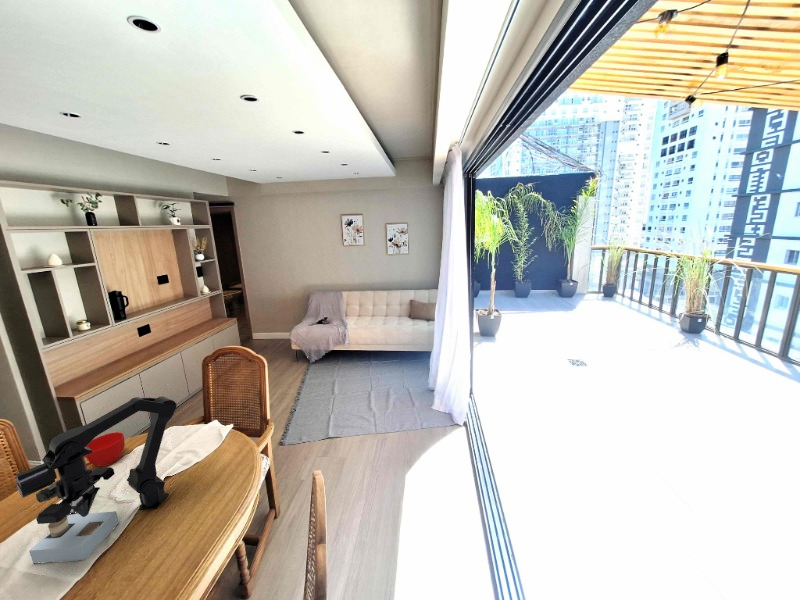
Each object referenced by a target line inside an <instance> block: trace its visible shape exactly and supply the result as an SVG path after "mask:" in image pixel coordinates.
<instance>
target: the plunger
mask: <svg viewBox="0 0 800 600" xmlns="http://www.w3.org/2000/svg"><path fill="white" fill-rule="evenodd" d="M67 517H68V515H67V516H66V517H65V518H64V519H62V520H61V521H59V522H57V523H48V525H47V527H48V530H49V533H50V534H51V537H52V538H59V537H61V536H63V535H64V534H65V533H66V532H67V531H68V530H69V529H70V526H69V522H68V519H67Z"/></svg>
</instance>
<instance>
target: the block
mask: <svg viewBox="0 0 800 600" xmlns="http://www.w3.org/2000/svg"><path fill="white" fill-rule="evenodd" d="M118 517H119V516H118V514H117V511H114V510H113V511H102V512H89V514H88V515H87V516H86V517H82V516H81V515H79V514H78V513H74V514H68V515H67V519H68V522H69V526H70V529H69V530H68V531H67V532H66V533H65V534H64V535H63V536H61V537H59V538H52V537H51V534H50V532H48V533H47V534H46V535H45V536H44V537H43V538H41V539H40V540H39V541H38V542H36V544H35V545H34V546H32V547H31V548H30V549H29V550H28V551H29V556H30V557H31V561H32V564H33V563H38V562H53V563H62V562H63V563H64V561H65V562H75V561H86V560H87V559H88V558H89V557H90V556H91V555H92V554H93V552H94V551H95V550H97V548H98V547H100V546H101V544H102V543H103V542H104V541H105V540H106V538H107V537H108V536H110V534H111V533H112V532H113V531H114V530H113V528H114V527H115V526H116V525H117V524H118V523H119V524H120V522H119V521H120V520H119V518H118ZM93 522H98V523H99V527H98V528H97V529H96V530H95V531H94V532H93V533H92V534H91V535H86V536H82V534H81V531H82V529H83V528H84V527H86V526H87V525H89V524H91V523H93ZM119 524H118V525H119ZM118 525H117V526H118ZM117 526H116V527H117ZM116 527H115V528H116ZM112 530H113V531H112ZM111 531H112V532H111Z"/></svg>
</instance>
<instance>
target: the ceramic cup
mask: <svg viewBox="0 0 800 600" xmlns="http://www.w3.org/2000/svg"><path fill="white" fill-rule="evenodd" d="M125 444H126V441H125V435H124V433H123V432H121V431H120V432H119V431H118V432H110V433H106V434H104V435H99V436H96V437H95V438H94V439H93V440H92V441H91V442H90V443H89V444H88V445H87V446H86V447H89V448H90V449H91V450H92V451H93V452H92V453H90V454H88V455H85V456H84V458H85V459H87V461H88V463H87V462H86V466H87V467H88V466H91V465H94V466H98V467H100V468H103V467H108V466H109V465H112V464H114V463H115V462H117V461H118V460H119V458H120V457H121V455H122V454H123V452H124V451H125V450H124V449H125Z"/></svg>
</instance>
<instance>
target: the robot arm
mask: <svg viewBox="0 0 800 600" xmlns="http://www.w3.org/2000/svg"><path fill="white" fill-rule="evenodd" d="M177 407H178V406H177V402H176V401H175V400H173V399H171V398H168V397H167V396H158V397H156V398H155V397H140V396H139V397H137V396H136V397H132V398H131V399H129V400H128V401H126V402H125V403H123V404H121V405H120V406H118V407H116V408H114V409H112V410H111V411H109V412H107V413H105V414H104V415H101V416H100V417H98V418H96V419H94V420H93V421H91V422H88V423H87V424H84V425H82V426H77V427H74V428H71V429H69V430H67V431H64V432H62V433H59V434H57V435H56V436H54V437H53V438H51V441H50V443H49V446H48V447H49V448H48V449H47V452H46V453H45V455H44V456H43V458H42V460H41V461H42V463H41V464H39V465H36V466H35V467H32V468H30V469H28V470H24V471H20V472H19V473H16V474H15V477H16V483H15V484H16V487H17V490H18V493H19V494H20V496H21V498H22V499H24V498H27V497H29V496H30V495H32V494H35V498H36V501H37V502H38V503H44V502H47V501H50V500H51V499H53V498H54V499H55V498H57V499H62V498H63V497H65V499H64V500H63V501H60V502H58V503H51V504H49V505H48V506H47V507H46V508H44V509H43V510H42V511H40V513H38V515H36V518H35V520H36V522H37V525H44V524H50V523H57V522H59V521H61V520H62V519H64V518H65V517H66V516H67V517H68V516H69V515H70V514H69V513H70V512H71V510H72V509H73V510H74V511H76V512H77V513H76V514H79V515H81V516H82V517H86V516H87V515H88V514H89V513H90V512H91V508H92V505H93V503H94V501H95V498H96V496H97V494H98V492H99V490H100V489H101V488H100V487H99V486H97V487H96V486H95V484H97V483H98V482H99V481H101V478H102V479H103V481H104V480H105V481H108V480H110V479H111V478H112V477H113V476H115V470H114V468H113V467H111V466H109V467H108V466H104V467H96V468H94V470H93V469H92V468H91V469H88V466H86V464H87V461H86V458H85V457H84V456H85V455H88V454H90V453H92V452H93V451H92V450H91V449H90V448H89V447H86V446H87V445H88V444H89V443H90V442H91V441H92V440H93V439H95V438H97V437H99V436H100V435H101V434H102V433H105V432H106V431H108V430H110V429H111V428H113V427H114V426H116V425H117V424H119V423H121V422H123V421H124V420H126V419H128V418H130V417H131V416H133V415H135V414H136V413H138V412H145V413H146V412H147V413H149V418H150V425H149V427H148V428H149V429H148V431H147V435H146V439H145V442H144V447H143V450H142V452H141V456H140V460H139V462H138V464H137V466H135V468H130V470H129V473H128V474H129V475H128V477H127V478H126V481H127V484H128V486H129V487H130V488H131V489H133V490H134V491H135V492H136V493H137V494H138V496H139V501H140V504H141V505H140V507H138V510H139V511H143V510H144V511H145V510H157V509H158V508H159V507H160V506H161V505H162V504H163V503H164V501H165V500H166V499H167V498H168V497H169V495H170V493H169V492H165V483H166V481H164V480H163V479H162V478H160V477H159V476H158V475H157V473H158V472H157V466H156V462H157V459H158V455H159V452H160V448H161V444H162V441H163V438H164V434H165V431H166V426H167V424H168V423H169V421H170V420H171V419H172V418H173V416H174V414H175V412H176V410H177ZM56 470H57V473H58V476H57V473H56ZM58 477H59V480H57V479H58Z"/></svg>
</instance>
